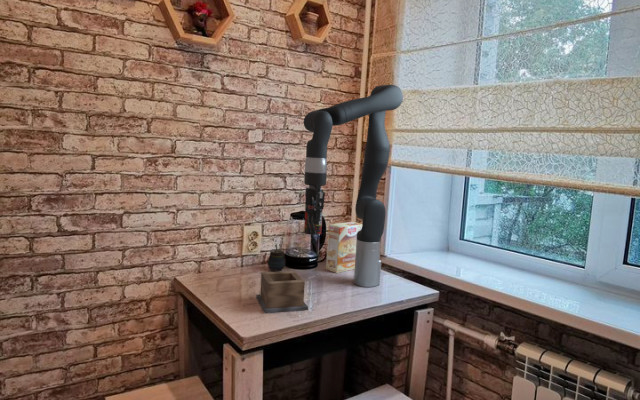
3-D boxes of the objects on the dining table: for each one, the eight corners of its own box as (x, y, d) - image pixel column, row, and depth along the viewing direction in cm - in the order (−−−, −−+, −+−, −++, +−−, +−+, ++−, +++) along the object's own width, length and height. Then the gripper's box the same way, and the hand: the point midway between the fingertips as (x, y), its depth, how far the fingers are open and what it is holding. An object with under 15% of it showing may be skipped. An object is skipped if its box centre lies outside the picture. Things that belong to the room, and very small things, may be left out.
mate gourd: (270, 273, 174) (271, 248, 173) (265, 267, 181) (265, 244, 180) (287, 271, 177) (288, 247, 176) (281, 266, 184) (282, 243, 183)
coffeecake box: (336, 273, 178) (339, 227, 176) (325, 269, 183) (327, 224, 181) (361, 268, 188) (364, 223, 186) (349, 264, 193) (352, 221, 191)
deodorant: (319, 235, 146) (321, 191, 144) (302, 233, 147) (304, 190, 145) (322, 231, 152) (324, 189, 150) (306, 230, 153) (308, 188, 151)
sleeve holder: (295, 294, 151) (297, 269, 150) (307, 310, 138) (309, 282, 137) (256, 297, 146) (256, 271, 145) (264, 313, 133) (265, 285, 132)
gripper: (333, 173, 141) (331, 223, 144) (319, 169, 155) (317, 215, 157) (311, 172, 139) (309, 224, 141) (299, 169, 152) (297, 216, 155)
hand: (313, 219), depth 149 cm, fingers closed on deodorant, 6 cm apart
